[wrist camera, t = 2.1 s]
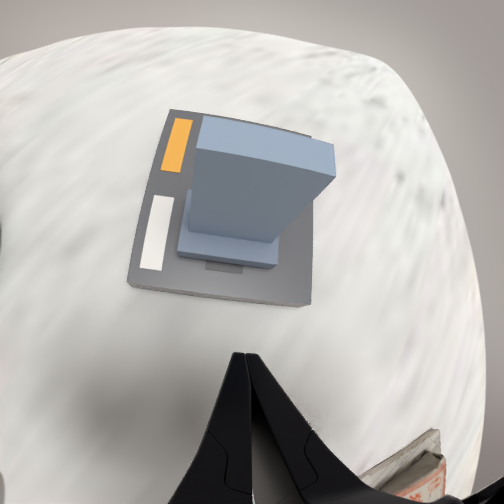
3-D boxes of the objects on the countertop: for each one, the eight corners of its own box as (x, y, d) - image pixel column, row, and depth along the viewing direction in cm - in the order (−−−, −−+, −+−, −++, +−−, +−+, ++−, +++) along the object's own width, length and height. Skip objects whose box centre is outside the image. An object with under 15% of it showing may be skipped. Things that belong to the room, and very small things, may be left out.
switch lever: (271, 268, 19) (350, 210, 10) (177, 255, 18) (173, 177, 9) (275, 211, 20) (341, 125, 11) (187, 197, 19) (196, 91, 10)
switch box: (299, 307, 21) (311, 304, 19) (132, 286, 19) (126, 281, 17) (303, 148, 25) (311, 135, 23) (170, 124, 23) (170, 108, 21)
